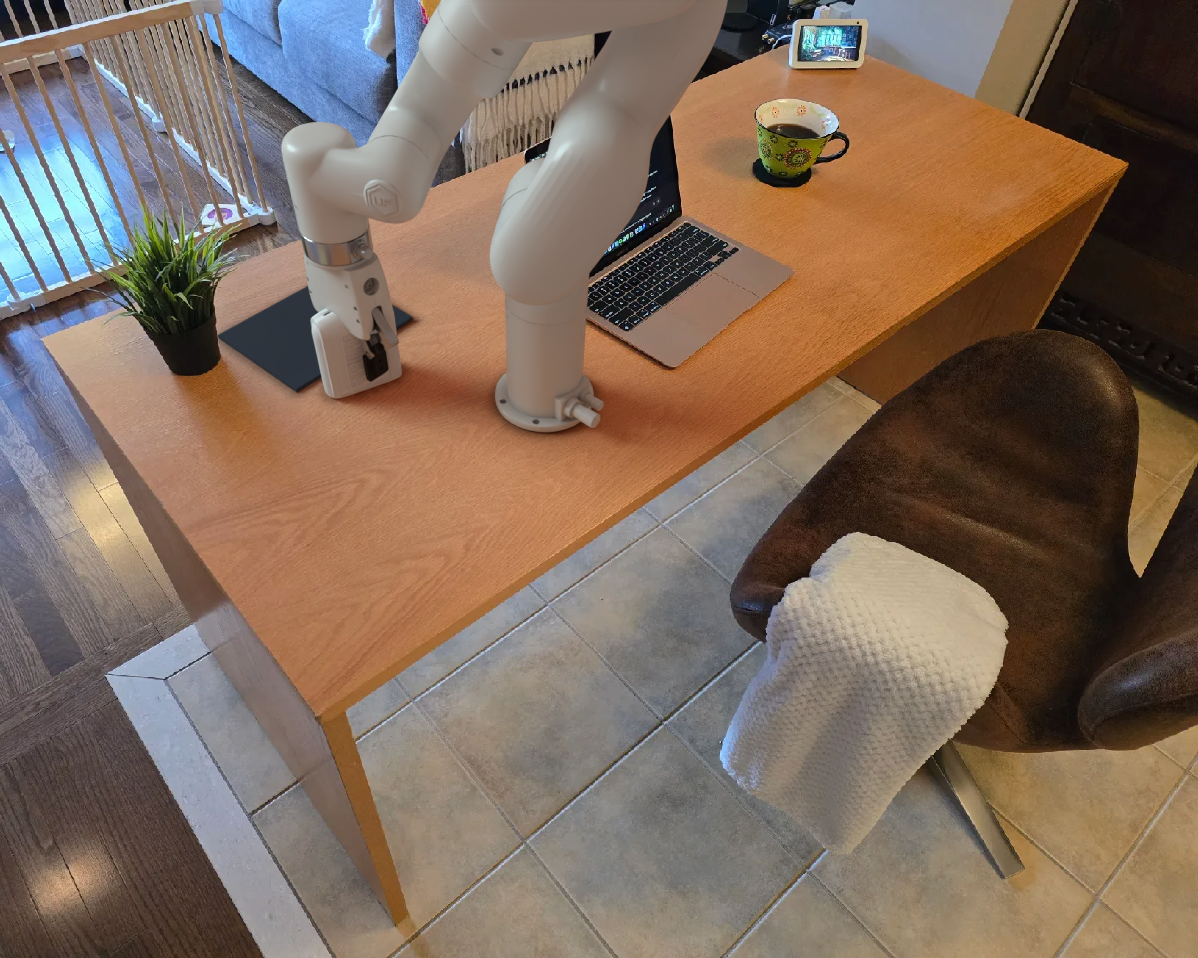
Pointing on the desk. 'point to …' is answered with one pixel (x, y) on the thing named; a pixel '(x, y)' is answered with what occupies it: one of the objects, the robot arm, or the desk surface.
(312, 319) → the photo printer
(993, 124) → the desk surface
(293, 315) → the desk mat
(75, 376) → the desk surface
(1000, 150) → the desk surface
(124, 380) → the desk surface
